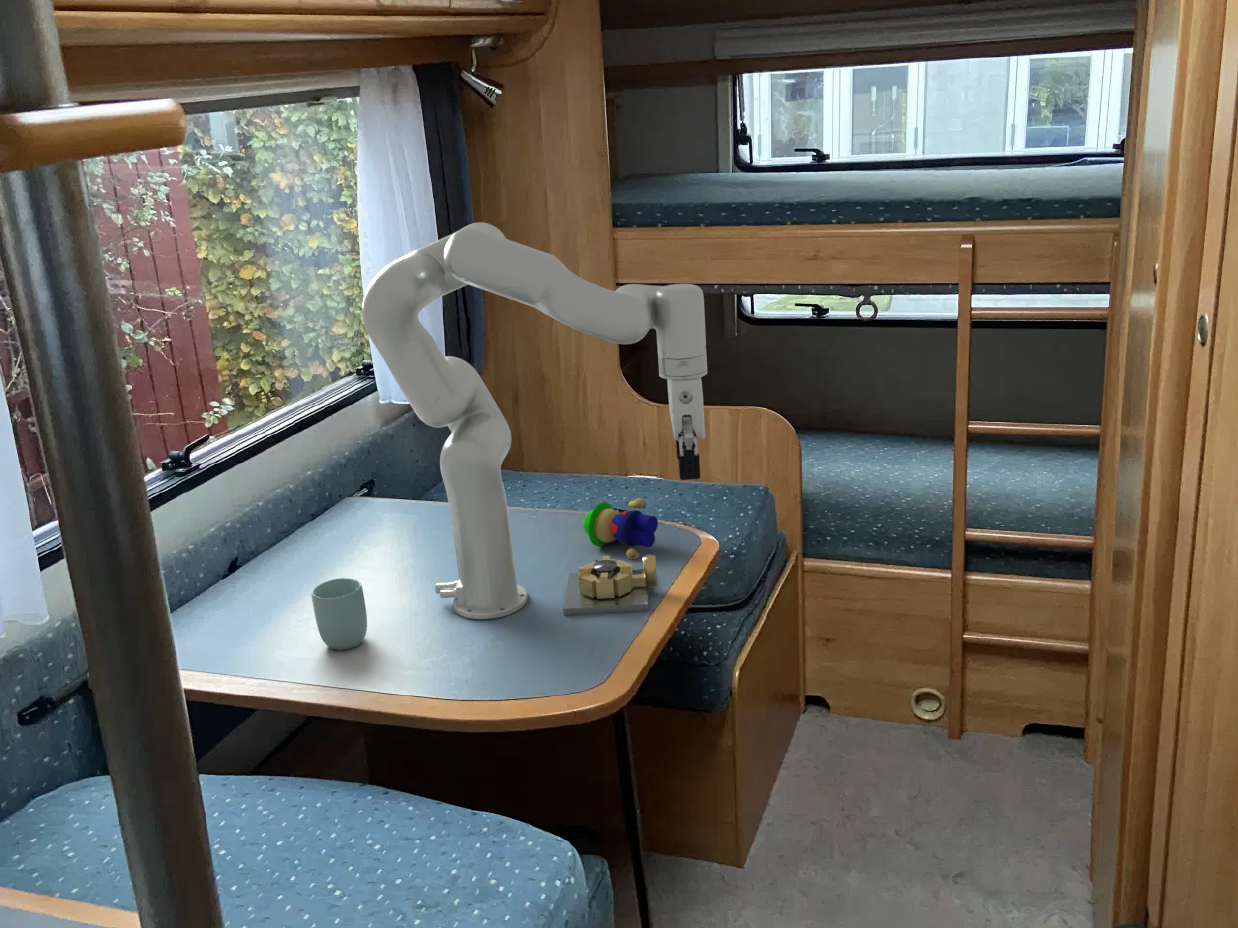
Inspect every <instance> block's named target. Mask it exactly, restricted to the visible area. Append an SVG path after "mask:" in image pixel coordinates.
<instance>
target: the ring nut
mask: <svg viewBox="0 0 1238 928" xmlns="http://www.w3.org/2000/svg"><path fill="white" fill-rule="evenodd" d="M641 558H642V569H643V573H644V574H639V575H633V570H634V569H633V565H632V563H631V562H626V561H624V560H620V559H618V560H616V559H615V558H613V559H611V555H602V559H597V560H598V561H601V560H613V561H615V562H616V563H617V569H616V570H614V575H613V576H609V577H608V572H607V573H601V576H600V577H598V574H597V572H596V571H594V569H593V565H594V563H596V562H595V561H596V560H593V561H592V562H589V563H587V564H585V565H581V566H580V565H579V567H578V573H579V585H580V592H581V593H582V594H584V595H587V596H589V597H591V598H594V597H596V596H597V599H600V598H614V597H615V595H616V596H618V597H619V596H621V595H623V594H625V593H628V592H630V591H631V589H633V587H640V586H647V587H649V588H653V587H655V586H657V585H658V574H657V560H656V555H655V554H645V555H643V556H642V557H641Z"/></svg>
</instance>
